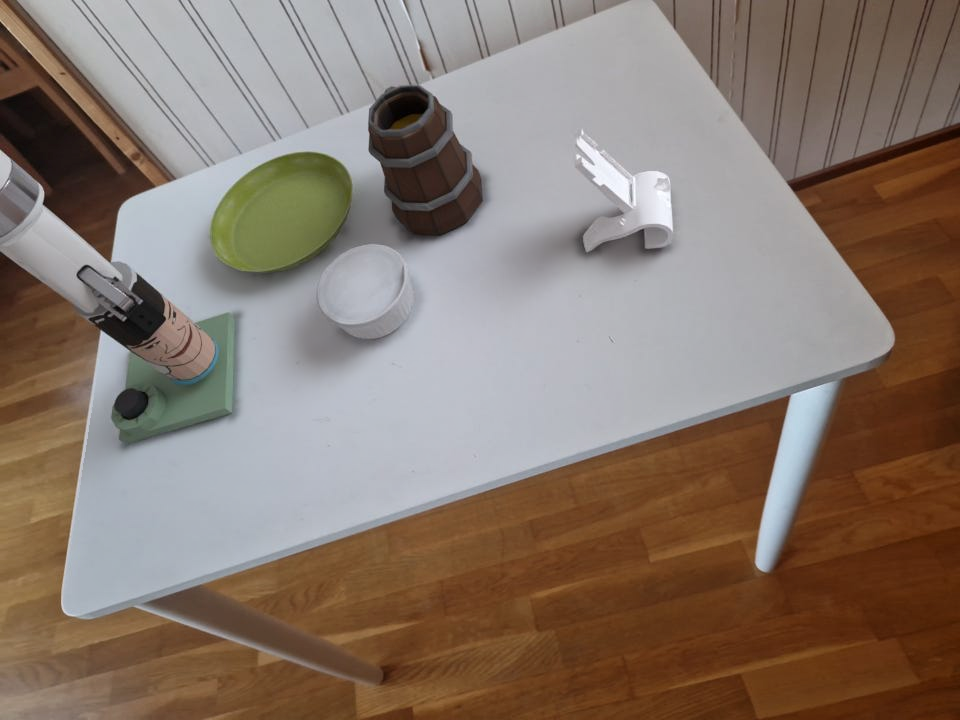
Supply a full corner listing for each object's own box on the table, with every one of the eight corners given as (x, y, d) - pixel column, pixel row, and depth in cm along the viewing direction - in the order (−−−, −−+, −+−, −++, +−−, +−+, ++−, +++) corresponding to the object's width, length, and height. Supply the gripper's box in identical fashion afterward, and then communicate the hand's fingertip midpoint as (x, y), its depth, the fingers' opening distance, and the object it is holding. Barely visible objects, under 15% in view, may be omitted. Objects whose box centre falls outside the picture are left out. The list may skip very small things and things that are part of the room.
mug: (497, 209, 83) (464, 114, 71) (410, 250, 84) (361, 163, 71) (457, 135, 92) (421, 38, 79) (377, 173, 92) (329, 83, 80)
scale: (232, 413, 78) (217, 402, 76) (126, 444, 80) (108, 435, 78) (235, 317, 86) (221, 304, 83) (138, 348, 88) (121, 336, 85)
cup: (178, 395, 78) (81, 328, 65) (161, 359, 81) (66, 288, 69) (226, 361, 79) (140, 287, 66) (207, 326, 82) (121, 250, 70)
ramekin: (404, 354, 76) (387, 330, 72) (321, 341, 80) (300, 318, 76) (434, 274, 81) (420, 246, 76) (355, 266, 85) (337, 240, 80)
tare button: (147, 414, 78) (136, 408, 77) (123, 422, 78) (112, 415, 77) (149, 391, 80) (139, 384, 78) (126, 398, 80) (115, 392, 79)
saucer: (254, 313, 85) (240, 299, 82) (204, 224, 96) (190, 209, 94) (387, 222, 87) (378, 205, 84) (323, 145, 98) (313, 128, 95)
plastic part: (673, 247, 74) (673, 172, 64) (583, 254, 76) (569, 183, 67) (670, 195, 77) (670, 116, 68) (584, 203, 80) (571, 129, 70)
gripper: (-84, 203, 60) (70, 312, 75) (4, 270, 51) (156, 377, 66) (-19, 145, 62) (118, 262, 77) (75, 201, 54) (207, 319, 69)
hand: (135, 314), depth 71 cm, fingers closed on cup, 6 cm apart
